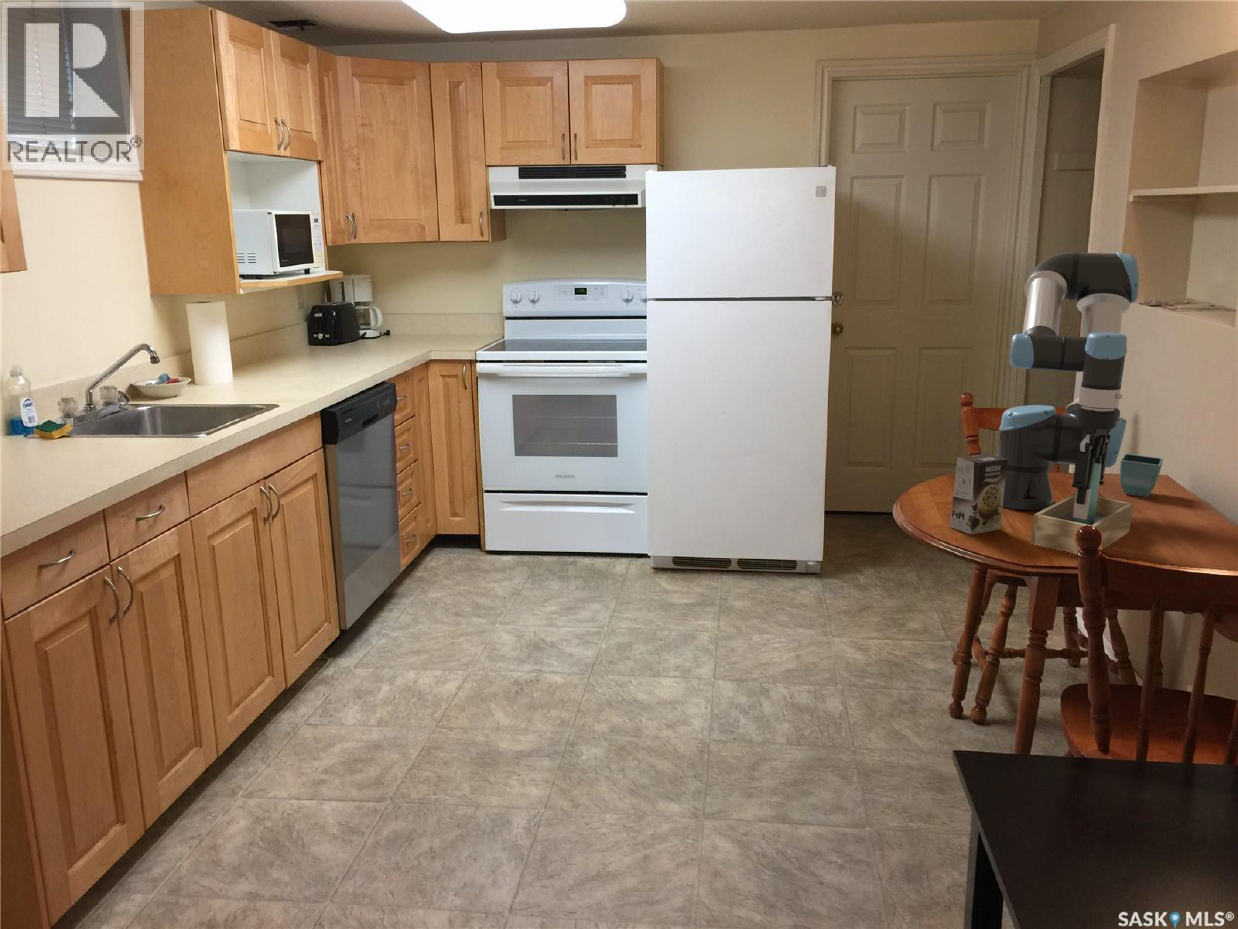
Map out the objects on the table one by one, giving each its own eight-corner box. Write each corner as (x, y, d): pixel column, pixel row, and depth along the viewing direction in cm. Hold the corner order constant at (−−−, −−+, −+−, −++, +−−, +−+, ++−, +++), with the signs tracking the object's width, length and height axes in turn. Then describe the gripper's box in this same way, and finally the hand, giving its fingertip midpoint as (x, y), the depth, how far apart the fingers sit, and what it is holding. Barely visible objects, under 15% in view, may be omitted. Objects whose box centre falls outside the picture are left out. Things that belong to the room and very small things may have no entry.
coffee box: (971, 535, 213) (978, 462, 209) (949, 527, 218) (955, 456, 214) (1001, 530, 217) (1009, 458, 213) (978, 522, 222) (986, 452, 218)
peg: (1069, 527, 211) (1077, 463, 207) (1076, 523, 214) (1084, 460, 210) (1089, 531, 208) (1097, 467, 205) (1096, 527, 211) (1104, 463, 208)
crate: (1030, 544, 207) (1034, 514, 206) (1072, 520, 224) (1076, 492, 222) (1090, 557, 199) (1094, 527, 198) (1129, 532, 216) (1133, 503, 214)
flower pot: (1158, 492, 248) (1163, 457, 246) (1155, 500, 241) (1160, 465, 239) (1119, 487, 253) (1124, 453, 250) (1115, 495, 245) (1120, 460, 243)
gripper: (1102, 415, 196) (1087, 528, 202) (1130, 405, 208) (1116, 511, 214) (1064, 410, 201) (1050, 520, 207) (1093, 400, 213) (1080, 504, 219)
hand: (1083, 515), depth 210 cm, fingers closed on peg, 4 cm apart
